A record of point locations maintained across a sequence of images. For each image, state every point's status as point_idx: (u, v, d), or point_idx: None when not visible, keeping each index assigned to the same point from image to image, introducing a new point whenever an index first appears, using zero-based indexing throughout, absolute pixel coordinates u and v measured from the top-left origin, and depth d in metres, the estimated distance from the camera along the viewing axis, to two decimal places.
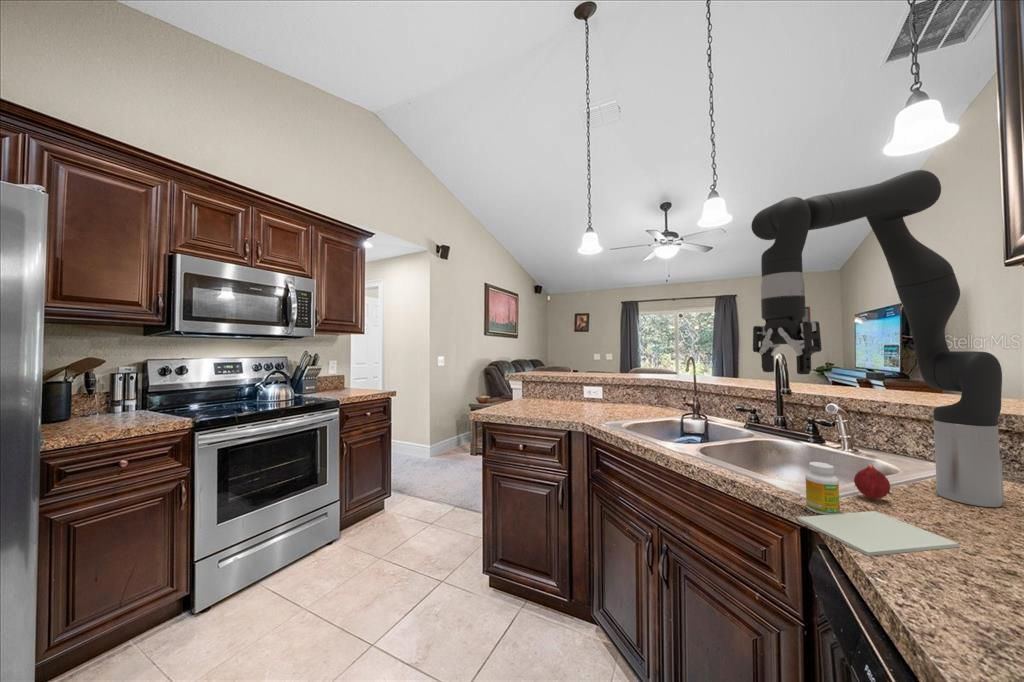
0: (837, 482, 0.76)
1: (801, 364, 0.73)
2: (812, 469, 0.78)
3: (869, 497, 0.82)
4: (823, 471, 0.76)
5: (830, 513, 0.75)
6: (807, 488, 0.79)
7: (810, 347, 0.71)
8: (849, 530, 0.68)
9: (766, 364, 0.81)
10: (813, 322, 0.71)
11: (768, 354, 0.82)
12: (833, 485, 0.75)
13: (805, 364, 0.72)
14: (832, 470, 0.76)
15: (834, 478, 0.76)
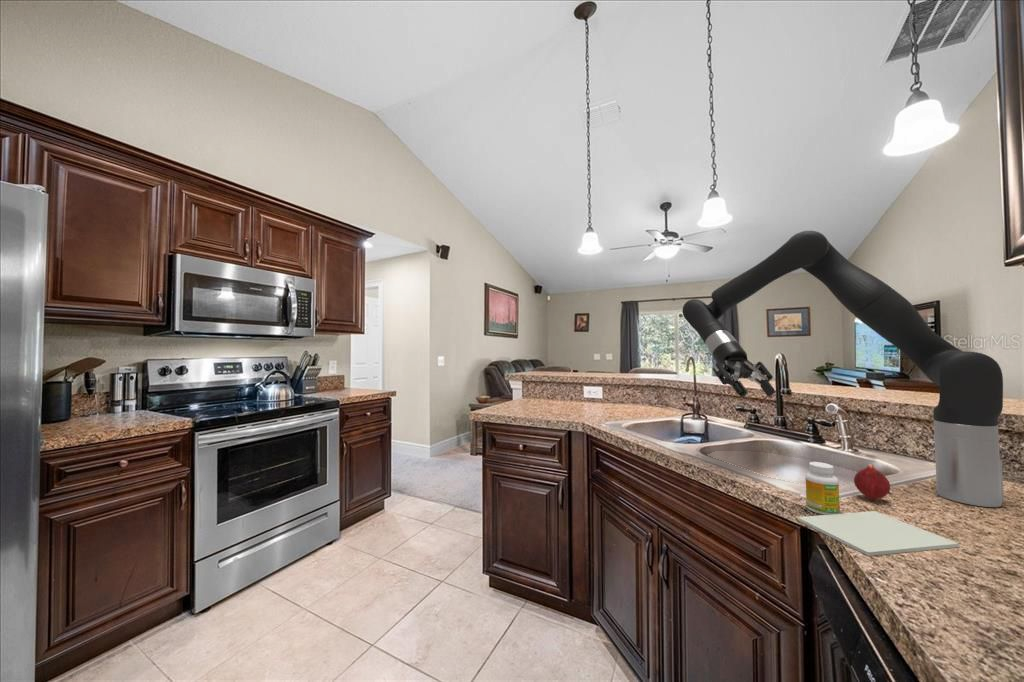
0: (837, 482, 0.76)
1: None
2: (812, 469, 0.78)
3: (869, 497, 0.82)
4: (823, 471, 0.76)
5: (830, 513, 0.75)
6: (807, 488, 0.79)
7: None
8: (849, 530, 0.68)
9: (765, 391, 0.97)
10: (715, 365, 1.01)
11: (762, 382, 0.98)
12: (833, 485, 0.75)
13: (735, 390, 0.96)
14: (832, 470, 0.76)
15: (834, 478, 0.76)
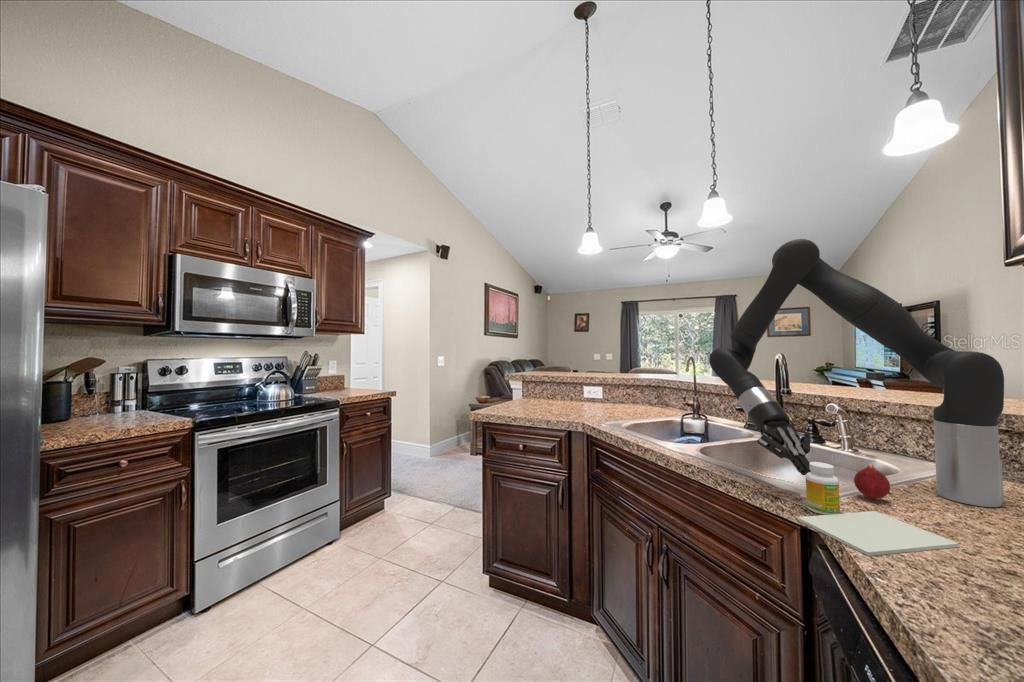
0: (837, 482, 0.76)
1: None
2: (812, 469, 0.78)
3: (869, 497, 0.82)
4: (823, 471, 0.76)
5: (830, 513, 0.75)
6: (807, 488, 0.79)
7: None
8: (849, 530, 0.68)
9: None
10: (760, 439, 0.87)
11: None
12: (833, 485, 0.75)
13: (795, 466, 0.83)
14: (832, 470, 0.76)
15: (834, 478, 0.76)
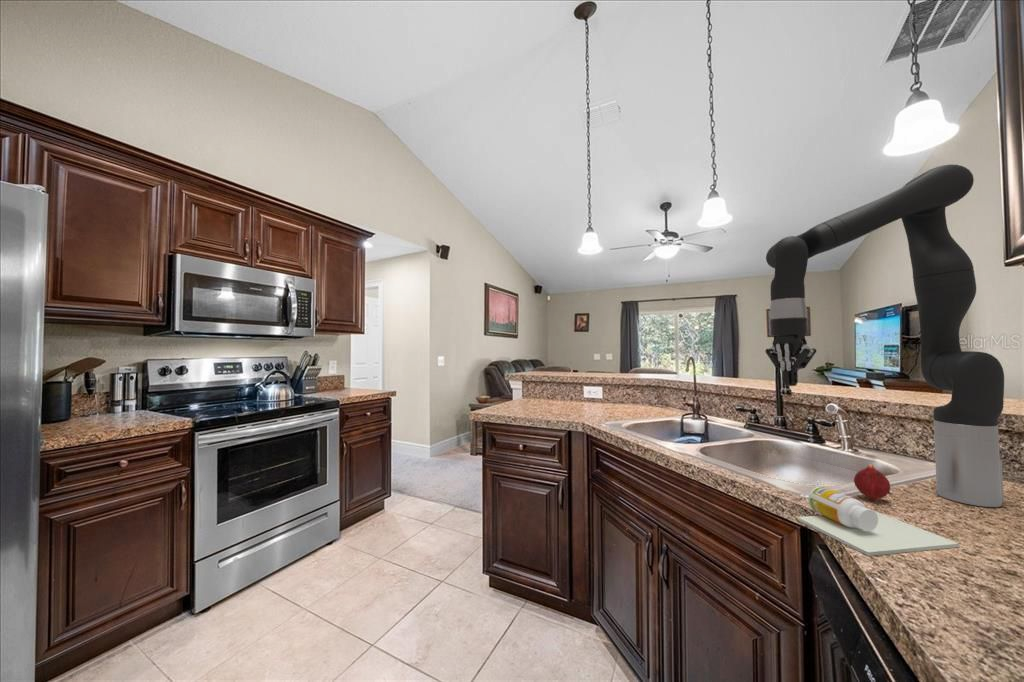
0: None
1: (790, 378, 0.93)
2: (857, 527, 0.67)
3: (869, 497, 0.82)
4: None
5: None
6: (830, 516, 0.71)
7: (796, 365, 0.90)
8: (849, 530, 0.68)
9: (787, 379, 0.93)
10: (812, 350, 0.88)
11: None
12: None
13: (793, 378, 0.92)
14: None
15: None
